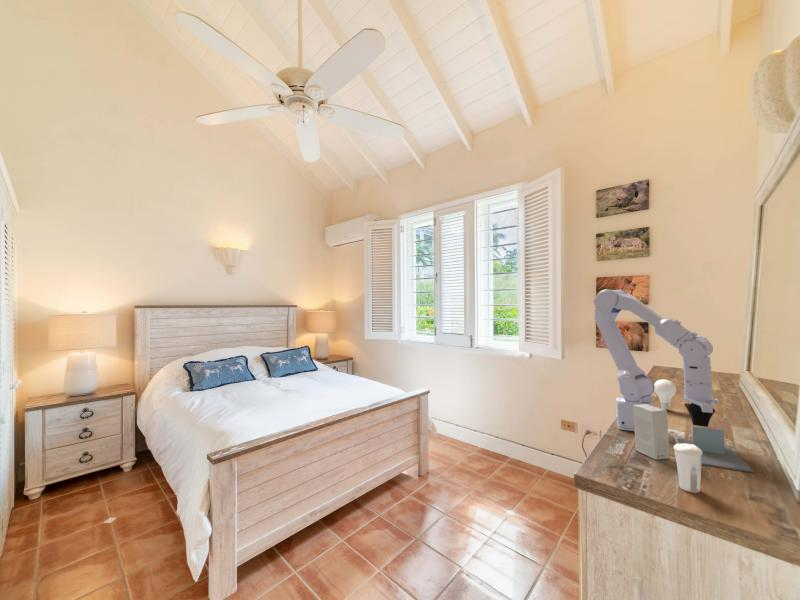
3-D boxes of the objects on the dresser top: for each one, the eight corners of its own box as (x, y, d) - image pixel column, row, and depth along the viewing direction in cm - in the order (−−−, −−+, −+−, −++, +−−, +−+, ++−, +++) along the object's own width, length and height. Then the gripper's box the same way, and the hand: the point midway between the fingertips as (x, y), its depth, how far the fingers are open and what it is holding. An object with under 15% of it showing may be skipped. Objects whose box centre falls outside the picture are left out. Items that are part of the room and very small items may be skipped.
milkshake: (686, 480, 72) (684, 434, 72) (710, 494, 67) (708, 444, 67) (666, 481, 72) (664, 435, 72) (688, 495, 67) (686, 445, 67)
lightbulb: (650, 408, 121) (648, 378, 122) (662, 406, 123) (661, 377, 124) (668, 413, 115) (667, 382, 116) (681, 411, 117) (680, 380, 118)
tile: (693, 450, 86) (692, 426, 86) (691, 447, 87) (690, 424, 87) (724, 454, 83) (723, 430, 83) (722, 452, 84) (721, 428, 85)
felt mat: (690, 463, 80) (690, 461, 80) (674, 439, 94) (674, 437, 94) (753, 472, 75) (753, 471, 75) (726, 446, 89) (726, 444, 89)
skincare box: (670, 458, 82) (668, 410, 83) (655, 460, 82) (652, 411, 82) (648, 448, 88) (646, 403, 89) (634, 450, 88) (632, 404, 88)
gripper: (727, 389, 83) (730, 444, 82) (708, 377, 95) (710, 425, 95) (690, 386, 86) (693, 439, 86) (676, 376, 99) (679, 422, 98)
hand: (700, 431), depth 90 cm, fingers closed
